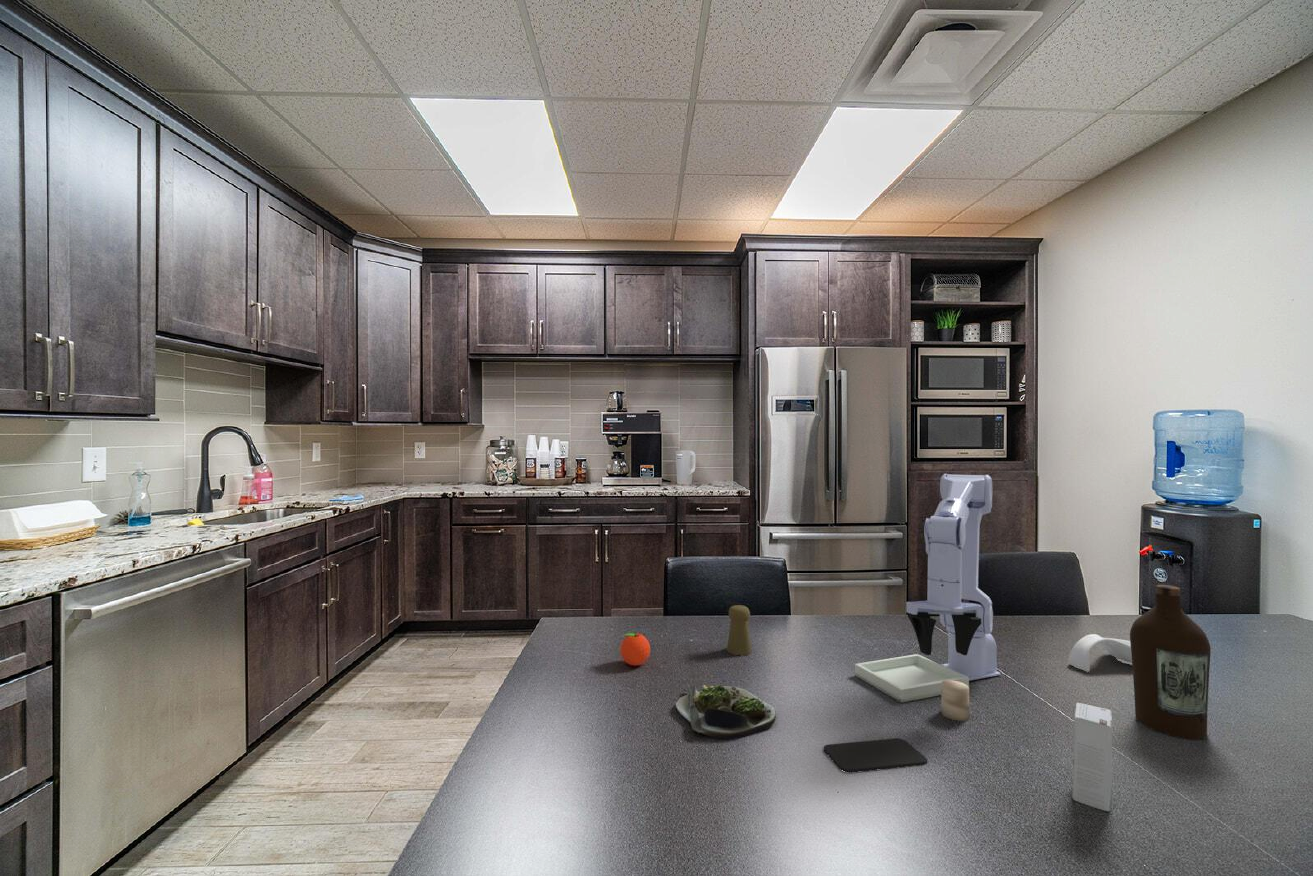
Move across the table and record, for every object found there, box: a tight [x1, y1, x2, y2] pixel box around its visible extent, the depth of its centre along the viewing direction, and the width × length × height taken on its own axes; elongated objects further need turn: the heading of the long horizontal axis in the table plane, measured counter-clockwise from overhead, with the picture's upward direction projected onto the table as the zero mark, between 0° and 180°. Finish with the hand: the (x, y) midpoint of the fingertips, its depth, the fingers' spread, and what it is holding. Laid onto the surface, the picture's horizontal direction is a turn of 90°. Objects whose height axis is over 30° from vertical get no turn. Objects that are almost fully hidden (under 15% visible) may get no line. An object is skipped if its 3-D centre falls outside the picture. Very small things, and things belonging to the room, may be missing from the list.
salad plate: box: [675, 684, 777, 740], centre depth 104 cm, size 19×18×5 cm
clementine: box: [620, 632, 651, 667], centre depth 126 cm, size 8×7×7 cm
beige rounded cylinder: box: [940, 680, 970, 722], centre depth 102 cm, size 5×5×6 cm
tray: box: [854, 653, 970, 703], centre depth 117 cm, size 18×14×2 cm
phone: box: [823, 737, 928, 774], centre depth 89 cm, size 7×1×15 cm
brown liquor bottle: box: [1129, 584, 1211, 740], centre depth 99 cm, size 11×11×25 cm
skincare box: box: [1071, 702, 1113, 812], centre depth 78 cm, size 6×4×12 cm
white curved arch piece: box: [1067, 633, 1132, 671], centre depth 127 cm, size 24×12×7 cm, turn 106°
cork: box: [726, 604, 753, 656], centre depth 134 cm, size 6×6×11 cm
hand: (943, 653), depth 103 cm, fingers open, 7 cm apart
